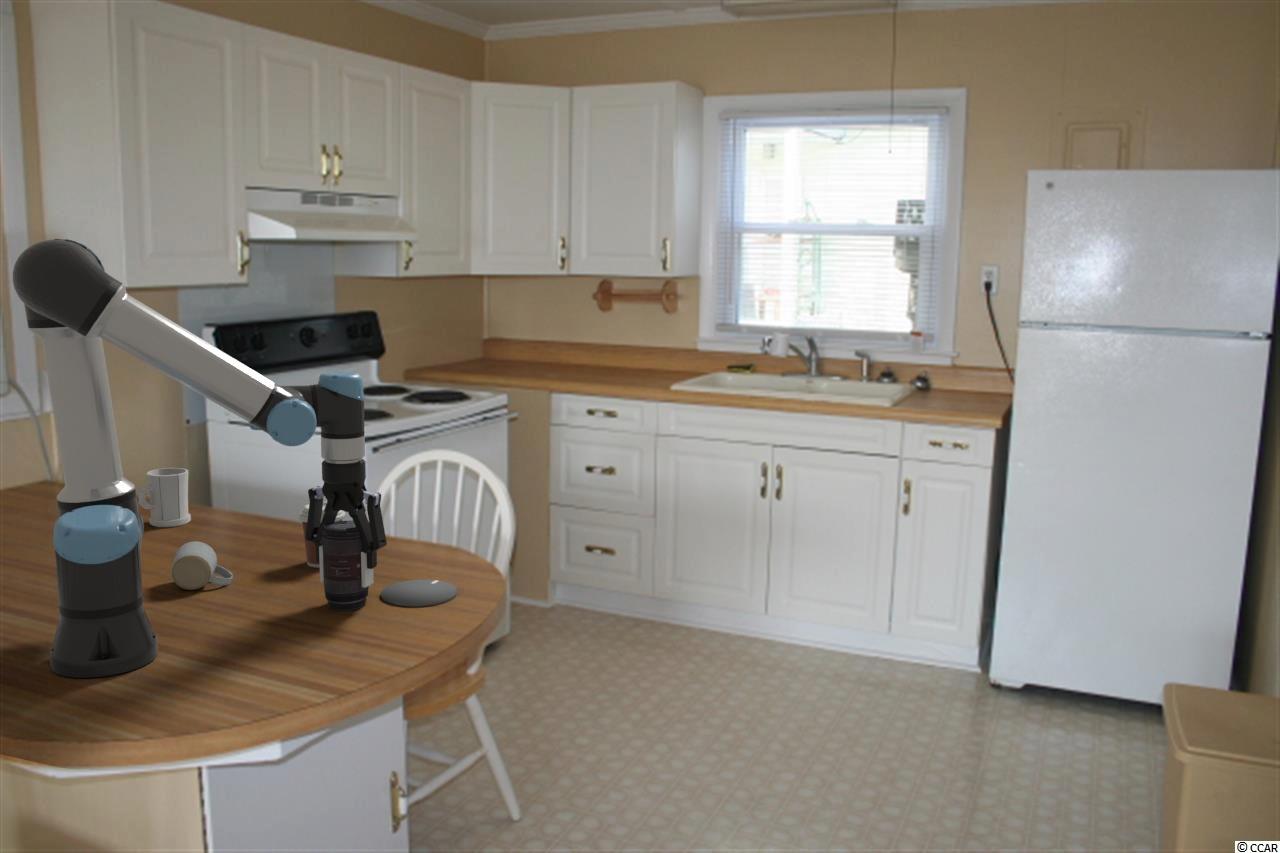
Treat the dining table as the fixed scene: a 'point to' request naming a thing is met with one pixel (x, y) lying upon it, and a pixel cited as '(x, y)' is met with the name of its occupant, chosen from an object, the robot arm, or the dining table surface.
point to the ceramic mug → (197, 567)
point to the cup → (166, 497)
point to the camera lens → (343, 566)
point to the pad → (419, 593)
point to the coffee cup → (308, 544)
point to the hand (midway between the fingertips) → (346, 582)
